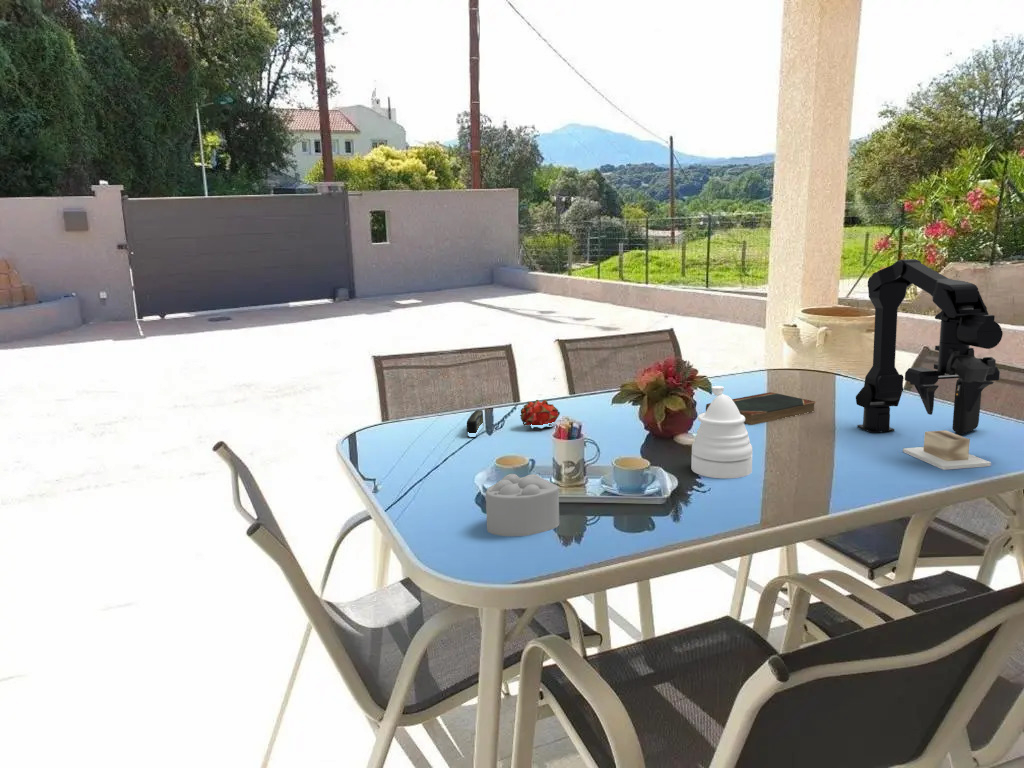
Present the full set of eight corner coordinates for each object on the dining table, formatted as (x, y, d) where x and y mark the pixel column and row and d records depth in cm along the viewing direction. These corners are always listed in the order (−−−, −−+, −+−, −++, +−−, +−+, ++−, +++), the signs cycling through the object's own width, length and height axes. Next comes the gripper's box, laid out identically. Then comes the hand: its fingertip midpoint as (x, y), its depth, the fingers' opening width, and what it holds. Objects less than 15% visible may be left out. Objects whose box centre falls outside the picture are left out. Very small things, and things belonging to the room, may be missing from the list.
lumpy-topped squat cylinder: (565, 526, 145) (565, 480, 143) (503, 542, 139) (501, 494, 137) (536, 509, 154) (535, 466, 152) (476, 523, 148) (474, 478, 146)
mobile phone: (476, 421, 206) (485, 406, 220) (465, 421, 206) (474, 406, 220) (477, 439, 207) (485, 423, 221) (466, 439, 207) (475, 423, 222)
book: (751, 427, 210) (816, 414, 222) (751, 414, 210) (817, 401, 222) (705, 415, 225) (768, 403, 237) (705, 402, 225) (768, 391, 237)
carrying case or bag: (960, 438, 192) (964, 378, 190) (947, 435, 195) (951, 376, 192) (980, 430, 199) (985, 372, 196) (967, 428, 201) (972, 370, 198)
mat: (902, 451, 183) (903, 448, 183) (946, 448, 184) (947, 445, 184) (943, 469, 169) (943, 466, 169) (990, 466, 171) (991, 462, 171)
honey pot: (679, 465, 178) (680, 386, 175) (727, 457, 183) (729, 380, 179) (714, 481, 167) (716, 397, 163) (764, 473, 171) (767, 391, 168)
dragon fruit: (516, 436, 213) (556, 436, 218) (529, 423, 207) (570, 424, 212) (511, 407, 217) (550, 408, 222) (524, 393, 210) (564, 395, 215)
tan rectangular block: (946, 461, 173) (948, 440, 172) (923, 451, 180) (924, 431, 179) (968, 459, 173) (969, 439, 172) (943, 449, 181) (945, 430, 180)
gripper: (939, 350, 163) (933, 424, 166) (1022, 345, 165) (1015, 418, 168) (905, 342, 173) (901, 412, 177) (983, 338, 176) (978, 407, 179)
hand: (949, 412), depth 175 cm, fingers open, 9 cm apart
